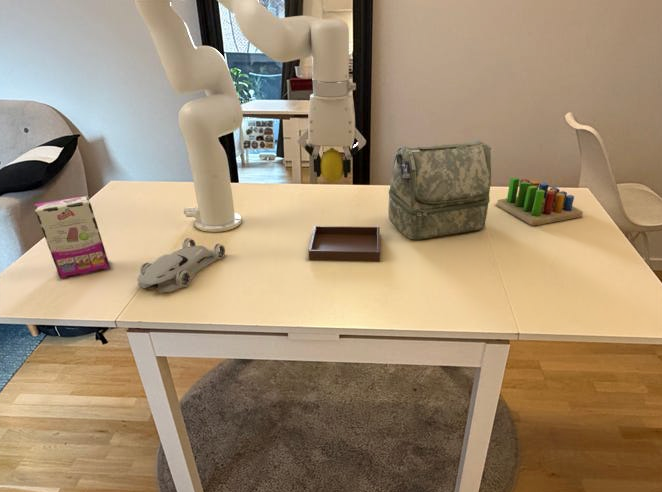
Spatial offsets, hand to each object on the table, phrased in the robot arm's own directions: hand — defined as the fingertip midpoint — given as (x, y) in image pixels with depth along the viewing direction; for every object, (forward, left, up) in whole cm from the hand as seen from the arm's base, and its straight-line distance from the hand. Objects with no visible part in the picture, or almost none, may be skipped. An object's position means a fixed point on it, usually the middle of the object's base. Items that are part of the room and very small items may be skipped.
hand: (332, 174), depth 124 cm
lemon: (0, 0, -2) cm, 2 cm away
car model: (-35, -12, -20) cm, 42 cm away
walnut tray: (+3, +3, -19) cm, 20 cm away
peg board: (+58, +30, -20) cm, 68 cm away
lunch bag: (+27, +18, -20) cm, 38 cm away
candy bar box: (-58, -12, -20) cm, 63 cm away
